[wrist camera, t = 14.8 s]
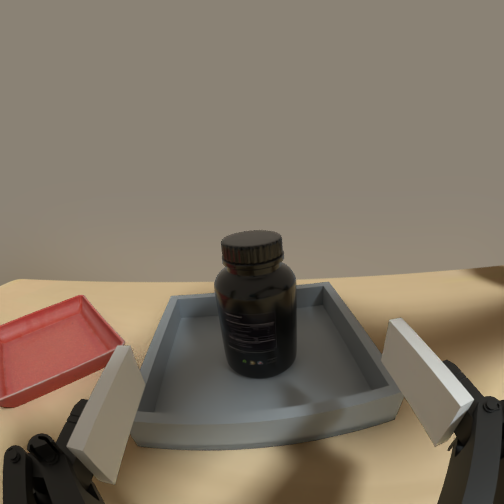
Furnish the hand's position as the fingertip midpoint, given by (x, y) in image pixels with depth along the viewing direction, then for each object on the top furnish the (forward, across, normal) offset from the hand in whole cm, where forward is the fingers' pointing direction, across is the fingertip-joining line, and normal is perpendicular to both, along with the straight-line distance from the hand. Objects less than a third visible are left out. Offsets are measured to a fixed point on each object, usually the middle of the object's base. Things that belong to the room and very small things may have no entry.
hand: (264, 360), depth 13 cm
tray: (+11, 0, -9) cm, 14 cm away
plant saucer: (+12, -26, -10) cm, 30 cm away
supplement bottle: (+11, 0, -9) cm, 14 cm away
